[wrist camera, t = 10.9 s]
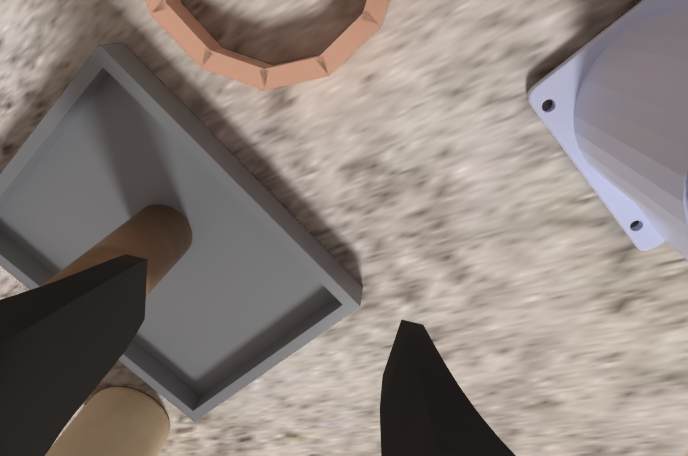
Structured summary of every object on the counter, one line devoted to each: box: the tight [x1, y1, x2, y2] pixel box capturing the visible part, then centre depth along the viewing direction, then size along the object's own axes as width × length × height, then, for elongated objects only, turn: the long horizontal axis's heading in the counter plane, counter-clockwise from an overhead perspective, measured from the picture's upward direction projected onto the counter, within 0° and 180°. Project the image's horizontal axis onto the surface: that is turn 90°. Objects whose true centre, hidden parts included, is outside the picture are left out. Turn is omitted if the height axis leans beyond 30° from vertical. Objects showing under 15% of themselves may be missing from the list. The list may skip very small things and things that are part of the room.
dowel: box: [42, 204, 192, 296], centre depth 19 cm, size 3×3×9 cm
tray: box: [0, 43, 363, 422], centre depth 24 cm, size 16×13×2 cm
